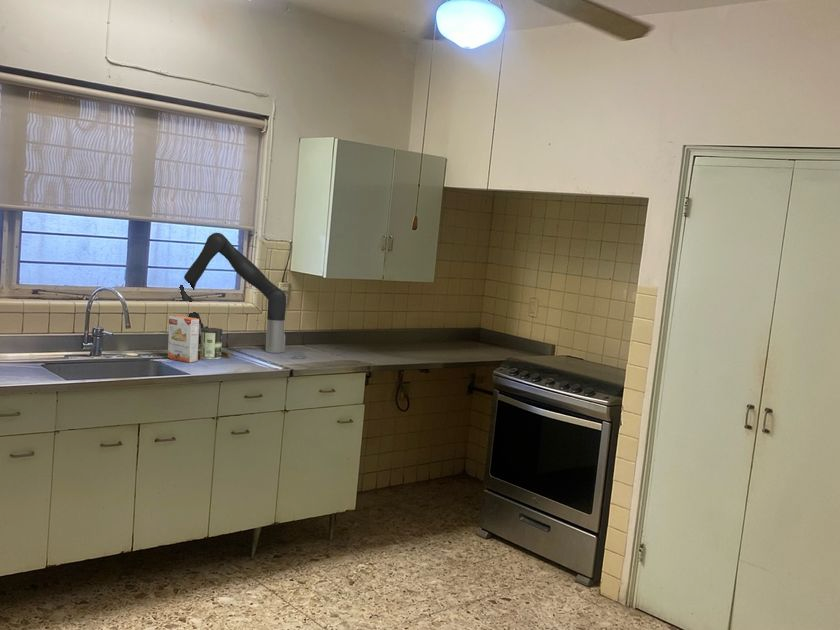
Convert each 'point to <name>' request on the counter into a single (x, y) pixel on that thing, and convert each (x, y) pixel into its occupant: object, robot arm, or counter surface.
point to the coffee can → (211, 343)
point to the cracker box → (183, 338)
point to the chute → (223, 353)
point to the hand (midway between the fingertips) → (201, 342)
